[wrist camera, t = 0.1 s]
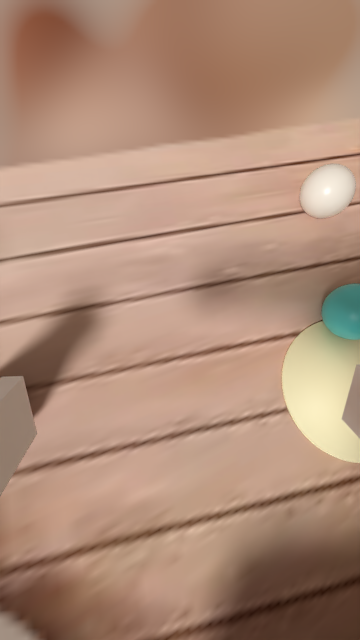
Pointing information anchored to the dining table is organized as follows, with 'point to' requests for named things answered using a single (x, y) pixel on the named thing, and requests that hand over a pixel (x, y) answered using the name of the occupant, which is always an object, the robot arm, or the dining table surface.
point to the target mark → (322, 389)
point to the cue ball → (327, 191)
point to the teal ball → (343, 311)
